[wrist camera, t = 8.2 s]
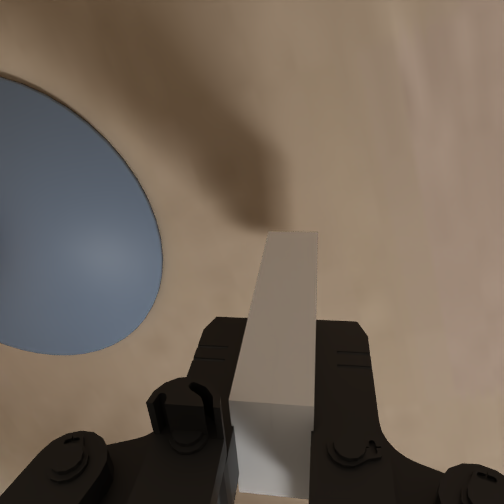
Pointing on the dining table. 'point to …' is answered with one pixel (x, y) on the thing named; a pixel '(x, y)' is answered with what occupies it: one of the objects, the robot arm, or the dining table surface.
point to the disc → (69, 232)
